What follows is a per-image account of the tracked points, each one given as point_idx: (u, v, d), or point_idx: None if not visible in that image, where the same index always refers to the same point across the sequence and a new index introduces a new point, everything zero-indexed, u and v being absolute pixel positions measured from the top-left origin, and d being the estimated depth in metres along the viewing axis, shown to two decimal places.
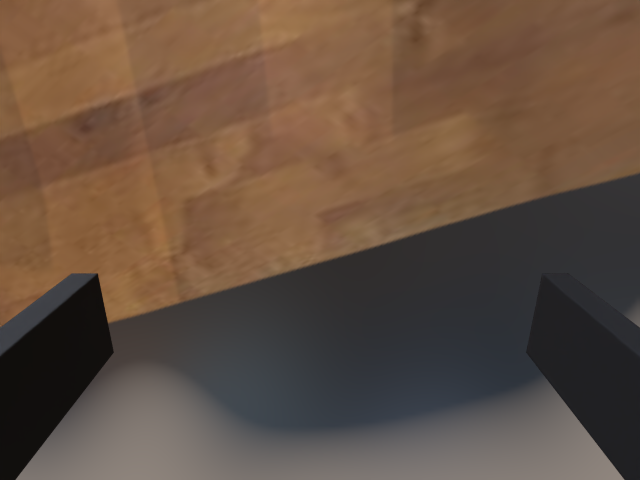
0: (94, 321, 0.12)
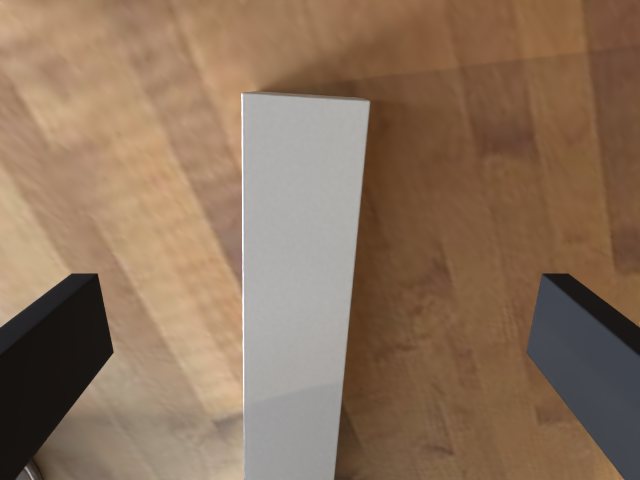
0: (94, 321, 0.12)
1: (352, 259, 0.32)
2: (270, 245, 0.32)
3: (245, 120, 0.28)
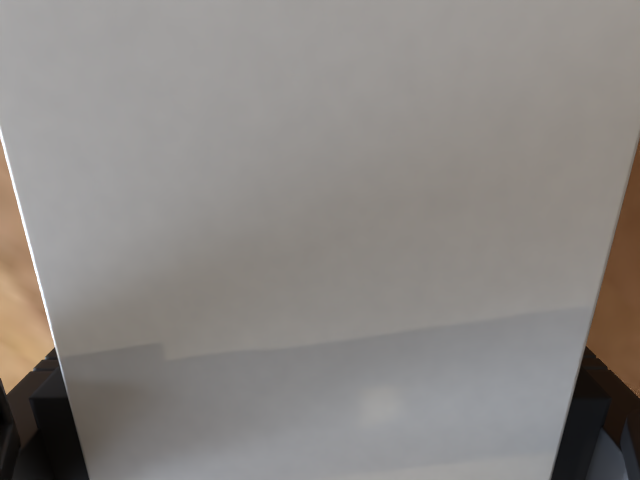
0: None
1: None
2: None
3: (15, 130, 0.06)
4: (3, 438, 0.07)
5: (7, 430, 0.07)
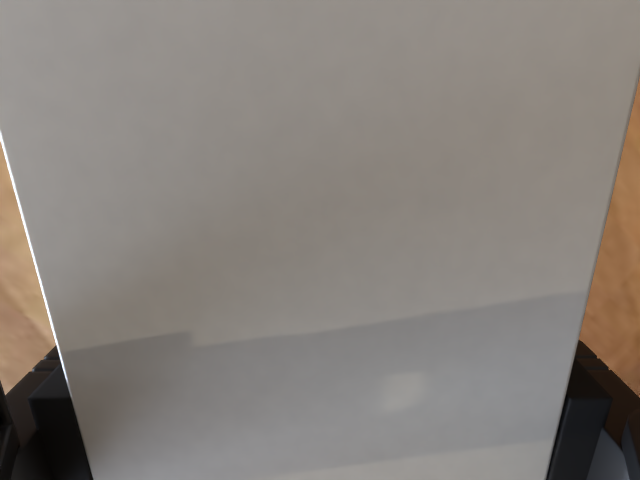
0: None
1: None
2: None
3: (16, 139, 0.06)
4: (1, 438, 0.07)
5: (5, 430, 0.07)
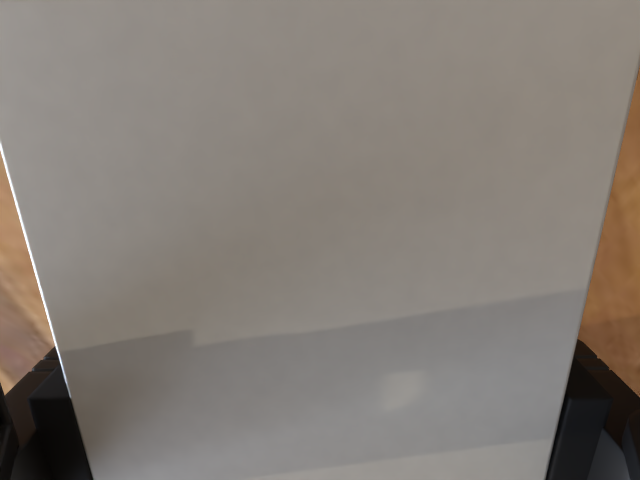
0: None
1: None
2: None
3: (14, 143, 0.06)
4: (1, 439, 0.07)
5: (5, 431, 0.07)
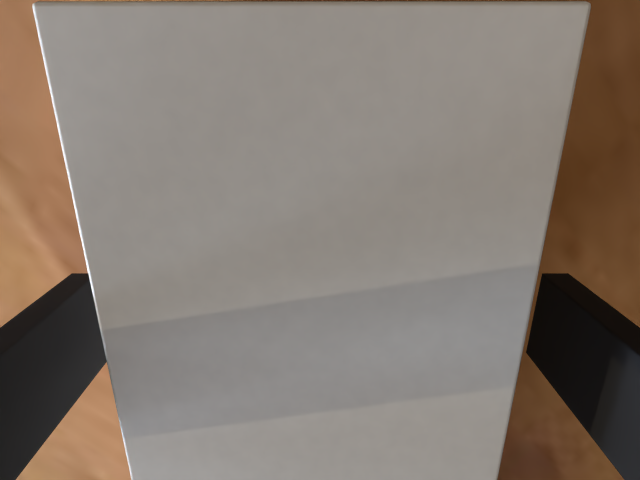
0: (94, 321, 0.12)
1: None
2: None
3: (69, 120, 0.07)
4: None
5: None
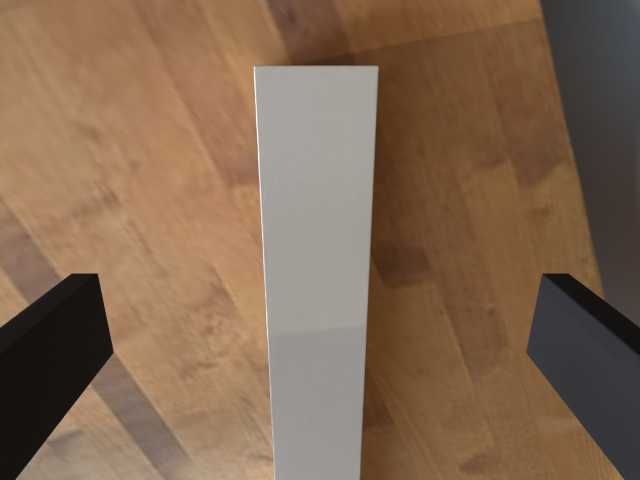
0: (94, 321, 0.12)
1: (368, 225, 0.33)
2: (288, 215, 0.33)
3: (258, 92, 0.29)
4: None
5: None
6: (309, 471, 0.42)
